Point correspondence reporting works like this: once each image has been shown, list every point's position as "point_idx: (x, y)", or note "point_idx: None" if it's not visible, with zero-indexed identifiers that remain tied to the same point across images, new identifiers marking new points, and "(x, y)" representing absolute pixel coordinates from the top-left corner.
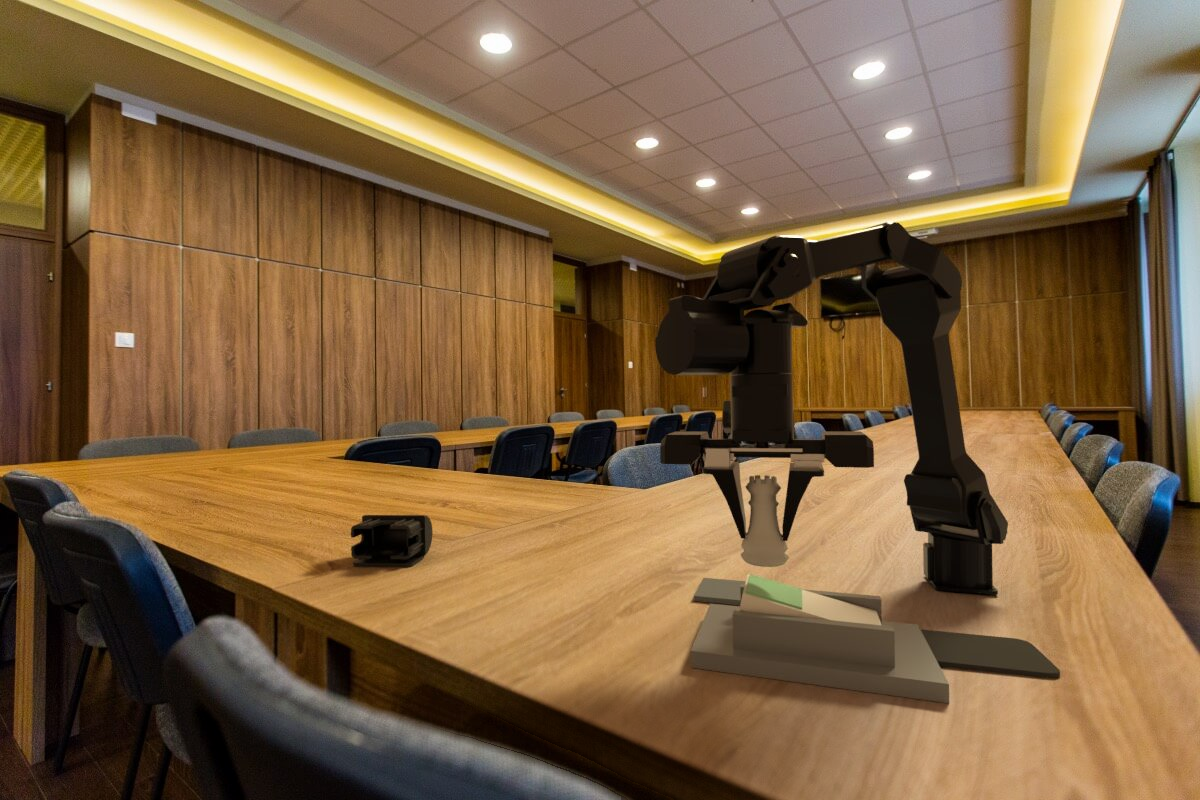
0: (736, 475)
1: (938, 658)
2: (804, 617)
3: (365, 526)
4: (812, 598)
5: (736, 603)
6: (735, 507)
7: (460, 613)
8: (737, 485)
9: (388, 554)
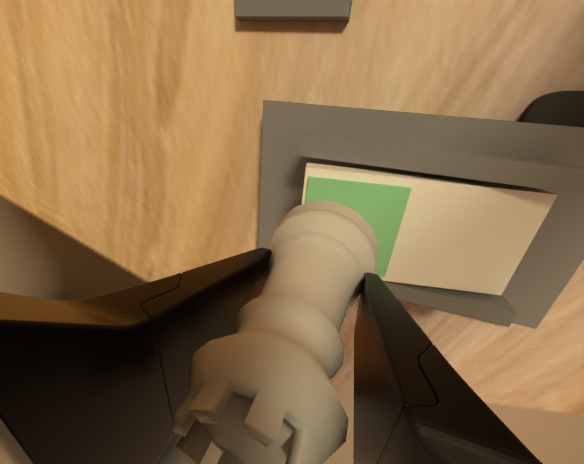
0: (120, 457)
1: None
2: (384, 281)
3: None
4: (422, 215)
5: (312, 18)
6: None
7: (30, 152)
8: (163, 422)
9: None
